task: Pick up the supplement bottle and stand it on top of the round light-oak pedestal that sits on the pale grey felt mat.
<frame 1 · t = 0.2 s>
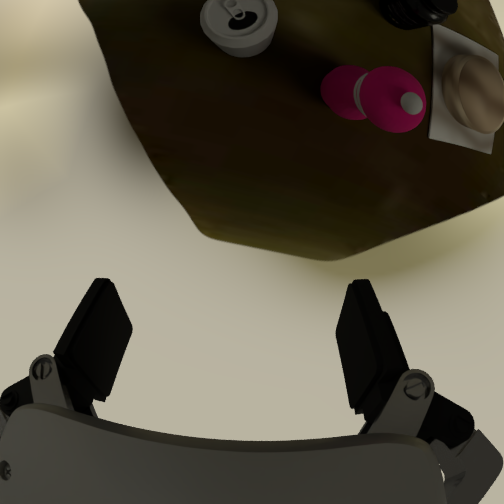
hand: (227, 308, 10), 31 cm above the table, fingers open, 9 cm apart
can: (244, 33, 27), on the table
pepper mill: (341, 90, 31), on the table
pedestal: (468, 91, 27), on the table
supplement bottle: (397, 11, 23), on the table
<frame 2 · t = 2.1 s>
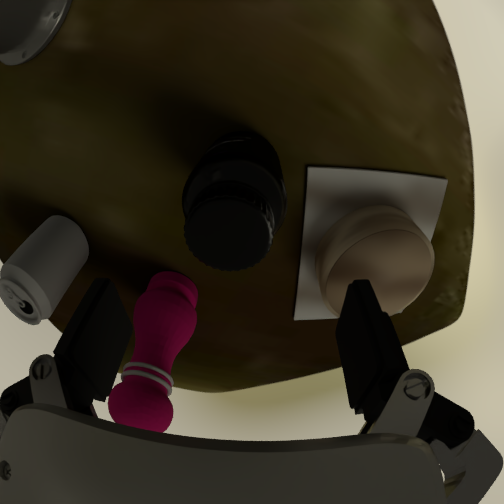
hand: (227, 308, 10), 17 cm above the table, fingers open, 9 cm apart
can: (69, 237, 29), on the table
pepper mill: (173, 289, 33), on the table
pedestal: (368, 255, 29), on the table
supplement bottle: (241, 165, 24), on the table
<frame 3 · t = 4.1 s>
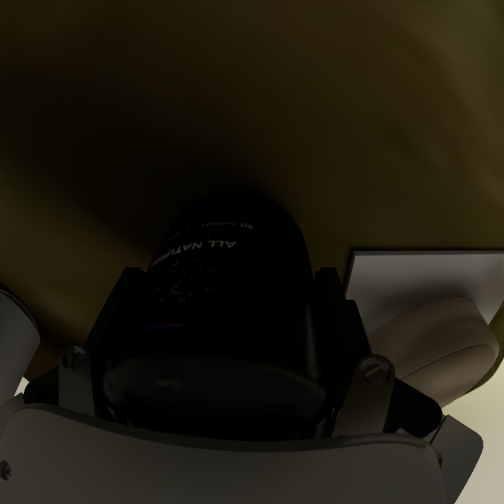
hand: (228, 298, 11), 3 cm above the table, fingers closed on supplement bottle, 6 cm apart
can: (16, 311, 19), on the table
pedestal: (413, 350, 19), on the table
supplement bottle: (235, 249, 14), on the table, touching gripper
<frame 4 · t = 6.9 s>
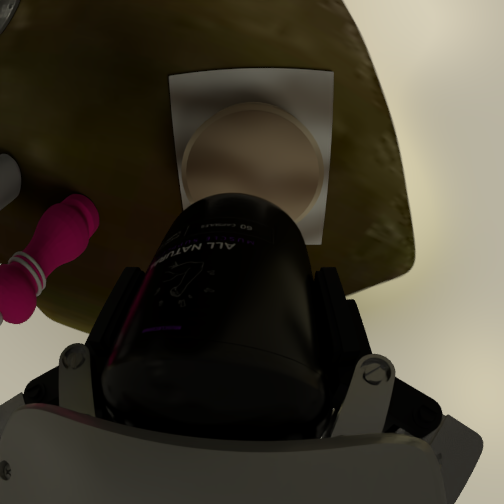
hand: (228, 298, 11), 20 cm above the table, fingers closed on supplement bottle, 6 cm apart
can: (10, 174, 27), on the table
pepper mill: (81, 213, 31), on the table
pedestal: (253, 162, 28), on the table
supplement bottle: (234, 250, 14), point 17 cm above the table, touching gripper
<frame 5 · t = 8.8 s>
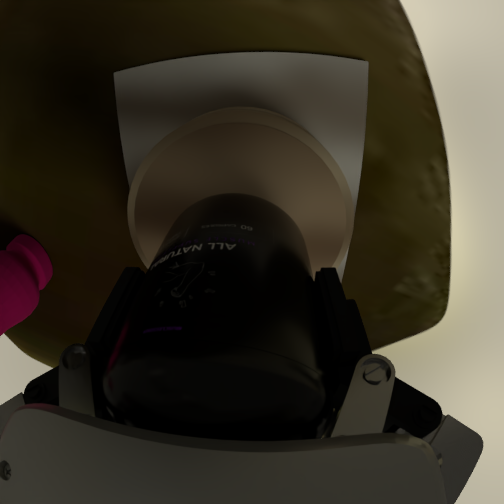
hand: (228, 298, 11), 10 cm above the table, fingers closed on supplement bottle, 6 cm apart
pepper mill: (33, 257, 23), on the table
pedestal: (242, 200, 19), on the table
supplement bottle: (235, 250, 14), point 6 cm above the table, touching gripper
when the fingers open (8 cm above the table, at t = 10.0 s): supplement bottle stays where it is, resting on pedestal.
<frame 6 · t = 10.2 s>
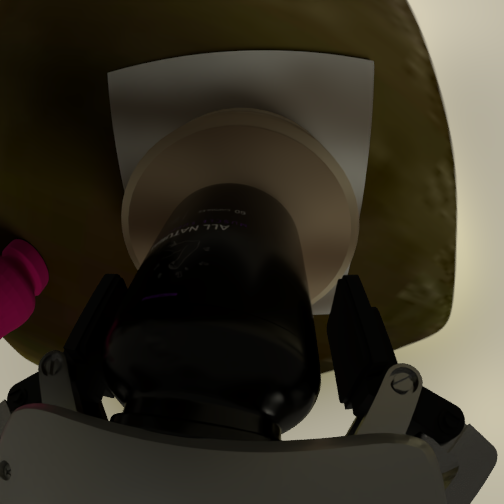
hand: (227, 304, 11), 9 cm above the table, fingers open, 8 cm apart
pepper mill: (29, 262, 22), on the table
pedestal: (241, 205, 18), on the table
supplement bottle: (231, 239, 14), point 4 cm above the table, touching pedestal
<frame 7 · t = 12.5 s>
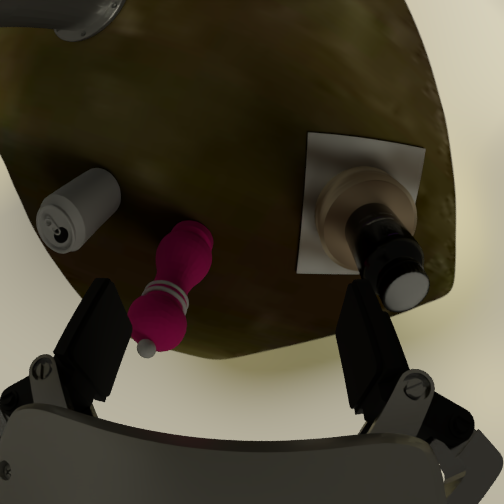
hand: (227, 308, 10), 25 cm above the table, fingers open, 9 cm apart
can: (102, 190, 35), on the table
pepper mill: (192, 239, 39), on the table
pedestal: (360, 212, 35), on the table
supplement bottle: (369, 226, 31), point 4 cm above the table, touching pedestal
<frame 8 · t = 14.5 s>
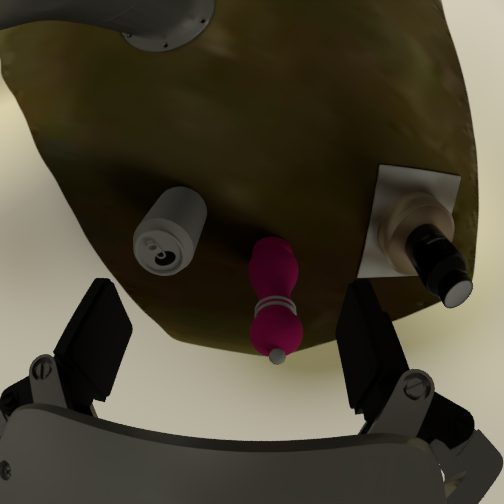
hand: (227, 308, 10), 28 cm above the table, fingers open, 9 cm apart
can: (183, 207, 39), on the table
pepper mill: (272, 252, 44), on the table
pedestal: (410, 227, 40), on the table
supplement bottle: (421, 240, 36), point 4 cm above the table, touching pedestal
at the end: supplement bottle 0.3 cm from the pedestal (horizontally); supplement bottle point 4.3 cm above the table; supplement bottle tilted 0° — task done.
